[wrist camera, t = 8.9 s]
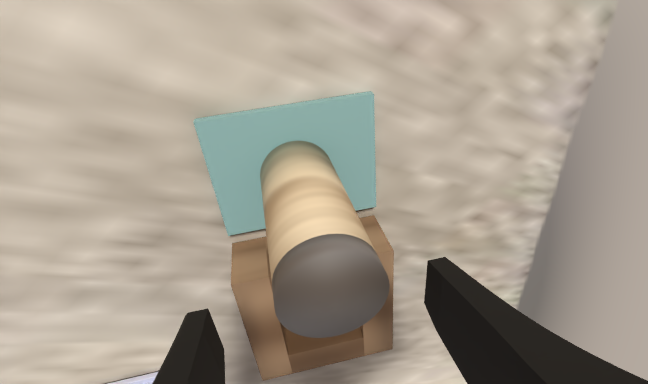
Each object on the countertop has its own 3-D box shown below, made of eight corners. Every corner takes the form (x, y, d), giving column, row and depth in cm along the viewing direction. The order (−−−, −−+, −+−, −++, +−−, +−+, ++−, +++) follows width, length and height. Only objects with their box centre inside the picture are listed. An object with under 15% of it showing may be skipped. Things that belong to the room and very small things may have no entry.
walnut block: (376, 309, 28) (392, 348, 25) (260, 335, 27) (262, 380, 24) (373, 215, 23) (393, 250, 20) (232, 243, 22) (230, 285, 19)
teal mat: (373, 202, 22) (376, 206, 22) (228, 230, 21) (228, 235, 21) (370, 91, 19) (373, 93, 18) (194, 118, 18) (193, 122, 17)
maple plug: (335, 197, 21) (389, 322, 13) (267, 211, 20) (284, 348, 13) (328, 134, 19) (389, 241, 11) (252, 148, 18) (263, 269, 11)
